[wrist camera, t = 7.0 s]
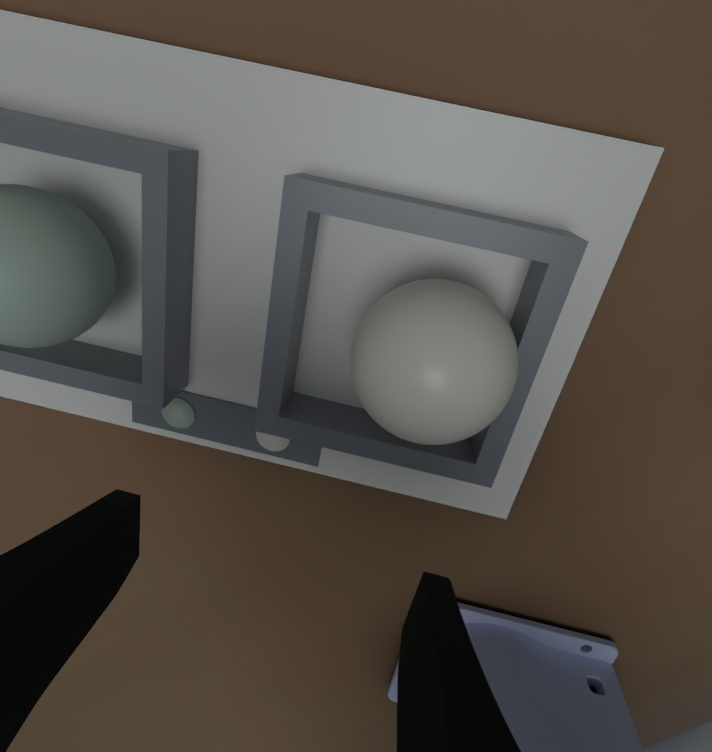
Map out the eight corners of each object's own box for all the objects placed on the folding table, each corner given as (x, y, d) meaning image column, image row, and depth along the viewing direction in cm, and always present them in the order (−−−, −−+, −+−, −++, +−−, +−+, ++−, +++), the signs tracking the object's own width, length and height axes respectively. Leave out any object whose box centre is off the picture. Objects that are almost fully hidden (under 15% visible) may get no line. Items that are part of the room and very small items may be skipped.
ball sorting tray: (649, 148, 15) (699, 147, 12) (502, 503, 21) (513, 555, 18) (-89, -6, 16) (-197, -40, 13) (-25, 375, 22) (-89, 407, 19)
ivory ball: (484, 269, 17) (584, 323, 12) (443, 395, 19) (517, 477, 15) (347, 249, 15) (411, 304, 11) (319, 391, 17) (364, 482, 13)
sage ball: (144, 196, 16) (37, 212, 12) (144, 333, 18) (53, 390, 14) (5, 166, 17) (-153, 169, 12) (21, 304, 19) (-108, 351, 14)
